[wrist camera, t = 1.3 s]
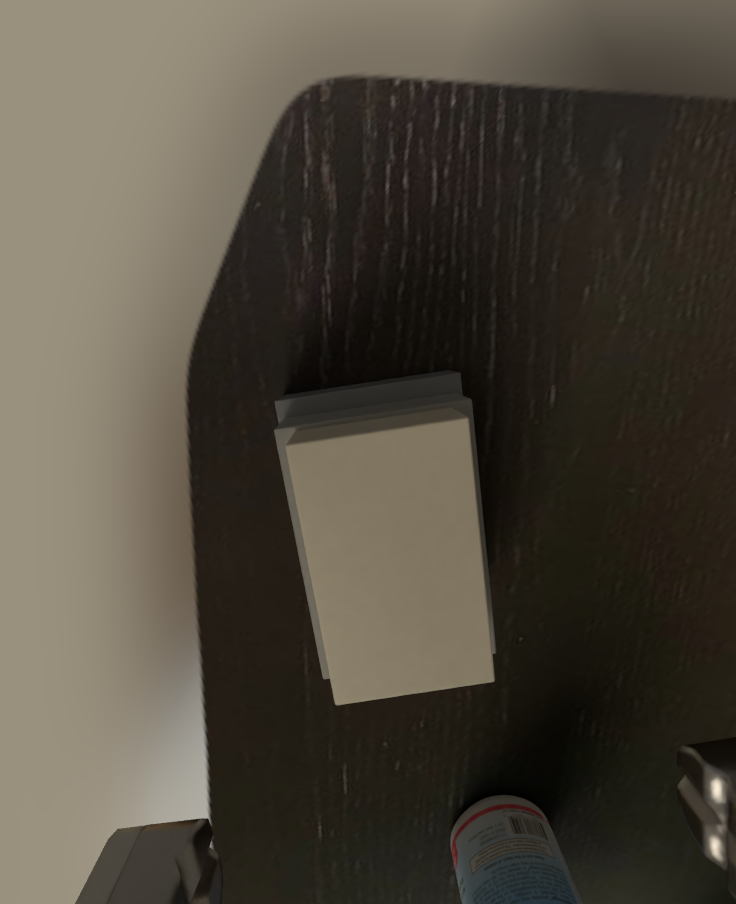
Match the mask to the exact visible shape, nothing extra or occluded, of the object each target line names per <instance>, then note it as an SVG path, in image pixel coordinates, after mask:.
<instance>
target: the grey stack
mask: <svg viewBox="0 0 736 904" xmlns="http://www.w3.org/2000/svg"><path fill="white" fill-rule="evenodd" d="M275 406H276V411H277V416H278V422H279V425H278V426H277V427H276V428H275V429H274V433H275V438H276V443H277V448H278V453H279V458H280V463H281V468H282V473H283V478H284V483H285V488H286V493H287V499H288V504H289V509H290V514H291V519H292V524H293V529H294V534H295V539H296V544H297V549H298V554H299V559H300V564H301V569H302V574H303V580H304V585H305V590H306V595H307V600H308V605H309V610H310V615H311V620H312V625H313V630H314V635H315V640H316V645H317V650H318V656H319V661H320V666H321V671H322V676H323V679H329V678H330V676H329V670H328V665H327V660H326V655H325V650H324V645H323V639H322V634H321V629H320V624H319V619H318V614H317V608H316V603H315V598H314V593H313V588H312V583H311V577H310V572H309V567H308V562H307V557H306V551H305V546H304V541H303V536H302V531H301V526H300V520H299V515H298V510H297V505H296V500H295V495H294V489H293V484H292V479H291V474H290V469H289V464H288V458H287V453H286V448H285V446H286V444H287V442H288V441H289V439H290V438H291V437H292V435H293V434H294V432H296V431H300V430H307V429H313V428H320V427H326V426H333V425H340V424H346V423H353V422H359V421H366V420H373V419H379V418H386V417H392V416H399V415H405V414H412V413H419V412H425V411H432V410H438V409H445V408H454V409H455V410H457V411H459V412H460V413H462V414H464V415H465V416H467V417H468V418H469V424H470V434H471V444H472V454H473V465H474V475H475V485H476V495H477V505H478V515H479V525H480V535H481V545H482V555H483V565H484V575H485V585H486V595H487V605H488V615H489V625H490V635H491V645H492V654H495V653H496V644H495V633H494V623H493V613H492V602H491V592H490V582H489V572H488V561H487V551H486V541H485V531H484V520H483V510H482V500H481V490H480V479H479V469H478V459H477V449H476V438H475V428H474V418H473V408H472V400H471V399H470V398H467V397H465V396H463V393H462V383H461V374H460V373H459V372H454V371H450V370H446V371H439V372H433V373H426V374H419V375H413V376H406V377H400V378H393V379H387V380H380V381H373V382H367V383H360V384H354V385H347V386H341V387H334V388H327V389H321V390H314V391H308V392H301V393H295V394H288V395H283V396H282V397H280V398H279V399H277V400H276V401H275Z"/></svg>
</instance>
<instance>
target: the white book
mask: <svg viewBox="0 0 736 904" xmlns="http://www.w3.org/2000/svg"><path fill="white" fill-rule="evenodd" d="M285 448H286V453H287V458H288V464H289V469H290V474H291V479H292V484H293V489H294V495H295V500H296V505H297V510H298V515H299V520H300V526H301V531H302V536H303V541H304V546H305V551H306V557H307V562H308V567H309V572H310V577H311V583H312V588H313V593H314V598H315V603H316V608H317V614H318V619H319V624H320V629H321V634H322V639H323V645H324V650H325V655H326V660H327V665H328V670H329V676H330V681H331V686H332V691H333V696H334V701H335V704H336V705H342V704H349V703H355V702H362V701H369V700H375V699H382V698H388V697H395V696H402V695H408V694H415V693H422V692H428V691H435V690H442V689H448V688H455V687H461V686H468V685H475V684H481V683H488V682H494V681H495V675H494V665H493V655H492V645H491V635H490V625H489V615H488V605H487V595H486V585H485V575H484V565H483V555H482V545H481V535H480V525H479V515H478V505H477V495H476V485H475V475H474V465H473V454H472V444H471V434H470V424H469V418H468V417H467V416H465V415H464V414H462V413H460V412H459V411H457V410H455V409H454V408H445V409H438V410H432V411H425V412H419V413H412V414H405V415H399V416H392V417H386V418H379V419H373V420H366V421H359V422H353V423H346V424H340V425H333V426H326V427H320V428H313V429H307V430H300V431H296V432H294V434H293V435H292V437H291V438H290V439H289V441H288V442H287V444H286V446H285Z"/></svg>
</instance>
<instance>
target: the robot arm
mask: <svg viewBox="0 0 736 904" xmlns="http://www.w3.org/2000/svg"><path fill="white" fill-rule="evenodd" d="M677 765H678V767H679V768H680V769H681V770H682V772H683V773H684V774H685V776H684V778H683V779H682V780H681V782H680V783H679V785H678V786H677V792H678V804H679V807H680V810H681V813H682V816H683V819H684V822H685V824H686V826H687V828H688V830H689V832H690V834H691V835H692V837H693V839H694V841H695V842H696V843H697V845H698V846H699V848H700V849H701V851H702V852H703V854H704V855H705V856H706V857H707V858H709V859H710V860H712V861H713V862H715V863H716V864H717V865H719V866H720V867H722V868H723V869H725V870H726V878H727V888H728V890H729V891H730V892H731V894H732V895H733V897H734V898H735V900H736V737H733V738H727V739H721V740H714V741H708V742H702V743H696V744H690V745H684V746H681V747H680V749H679V750H678V752H677ZM212 836H213V832H212V829H211V826H210V823H209V820H208V819H194V820H185V821H178V822H168V823H161V824H151V825H145V826H139V827H130V828H122V829H117V831H116V832H115V833H114V834H113V835H112V836H111V837H110V838H109V839H108V841H107V843H106V845H105V847H104V848H103V851H102V853H101V855H100V857H99V858H98V860H97V862H96V864H95V866H94V868H93V870H92V872H91V874H90V876H89V878H88V880H87V882H86V884H85V886H84V888H83V890H82V891H81V893H80V896H79V897H78V899H77V901H76V903H75V904H221V901H222V889H223V874H222V865H221V861H220V857H219V854H217V853H216V852H215V851H214V850H212V849H211V848H210V847H209V846H210V843H211V839H212Z"/></svg>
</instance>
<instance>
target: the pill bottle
mask: <svg viewBox="0 0 736 904" xmlns="http://www.w3.org/2000/svg"><path fill="white" fill-rule="evenodd" d="M451 851H452V856H453V862H454V866H455V872H456V876H457V881H458V886H459V891H460V896H461V901H462V904H582V901H581V899H580V897H579V894H578V892H577V889H576V887H575V884H574V882H573V880H572V877H571V875H570V872H569V870H568V867H567V865H566V863H565V860H564V858H563V855H562V853H561V851H560V848H559V846H558V843H557V841H556V839H555V836H554V834H553V831H552V829H551V827H550V824H549V822H548V820H547V818H546V817H545V815H544V814H543V812H542V811H541V810H540V809H539V808H538V807H537V806H536V805H535V804H533V803H532V802H530V801H528V800H526V799H523V798H521V797H517V796H512V795H496V796H490V797H487V798H484V799H482V800H480V801H478V802H476V803H475V804H473V805H472V806H470V807H469V808H468V809H467V810H466V811H465V812H464V813H463V814H462V815H461V816H460V817H459V819H458V820H457V822H456V823H455V825H454V827H453V830H452V833H451Z"/></svg>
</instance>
